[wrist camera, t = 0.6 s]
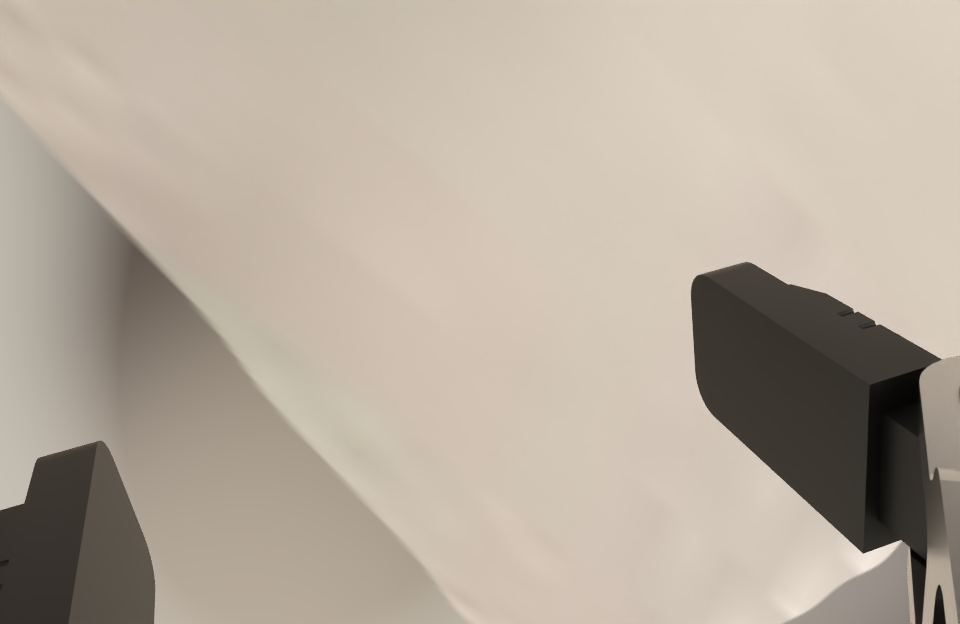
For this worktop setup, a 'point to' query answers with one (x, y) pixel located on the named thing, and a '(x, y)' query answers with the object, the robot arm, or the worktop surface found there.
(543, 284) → the worktop surface
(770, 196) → the worktop surface
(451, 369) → the worktop surface
